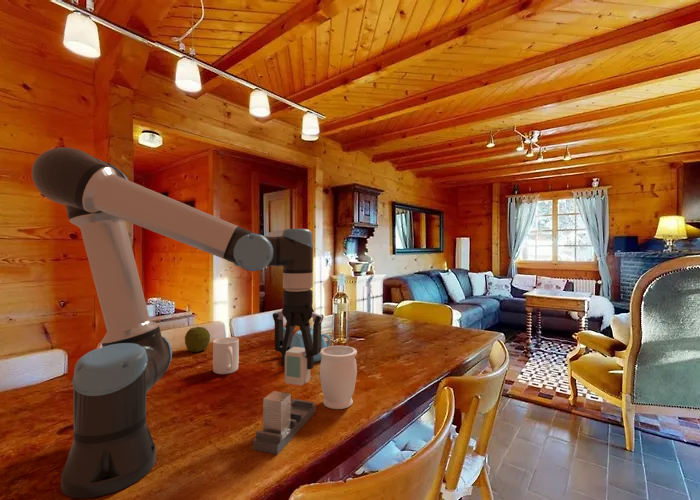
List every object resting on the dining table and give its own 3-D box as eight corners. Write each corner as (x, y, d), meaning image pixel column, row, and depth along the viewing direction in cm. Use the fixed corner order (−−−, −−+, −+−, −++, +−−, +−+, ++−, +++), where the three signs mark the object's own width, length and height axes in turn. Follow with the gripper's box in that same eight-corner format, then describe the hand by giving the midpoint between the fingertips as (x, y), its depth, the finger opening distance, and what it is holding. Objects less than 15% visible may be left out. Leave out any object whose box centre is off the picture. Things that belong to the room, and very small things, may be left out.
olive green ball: (201, 355, 138) (201, 328, 138) (179, 353, 140) (179, 327, 140) (214, 348, 148) (214, 322, 148) (194, 346, 150) (194, 321, 150)
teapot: (277, 355, 139) (277, 325, 139) (317, 348, 150) (317, 320, 150) (295, 368, 125) (295, 334, 125) (338, 359, 135) (338, 328, 135)
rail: (277, 454, 73) (277, 407, 73) (253, 449, 75) (253, 403, 75) (315, 411, 92) (315, 374, 92) (294, 408, 94) (295, 372, 94)
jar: (336, 392, 105) (337, 343, 105) (363, 402, 98) (364, 349, 98) (311, 404, 96) (312, 350, 96) (339, 415, 90) (340, 358, 90)
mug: (218, 380, 113) (218, 347, 113) (210, 369, 123) (210, 339, 123) (244, 374, 118) (244, 343, 118) (234, 364, 128) (235, 336, 128)
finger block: (301, 386, 85) (301, 353, 85) (285, 383, 86) (285, 352, 86) (309, 378, 89) (309, 348, 89) (293, 376, 91) (293, 346, 91)
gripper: (335, 288, 89) (334, 378, 89) (274, 286, 94) (274, 371, 94) (324, 292, 81) (323, 390, 82) (259, 289, 87) (259, 381, 87)
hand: (297, 379), depth 88 cm, fingers closed on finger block, 4 cm apart
